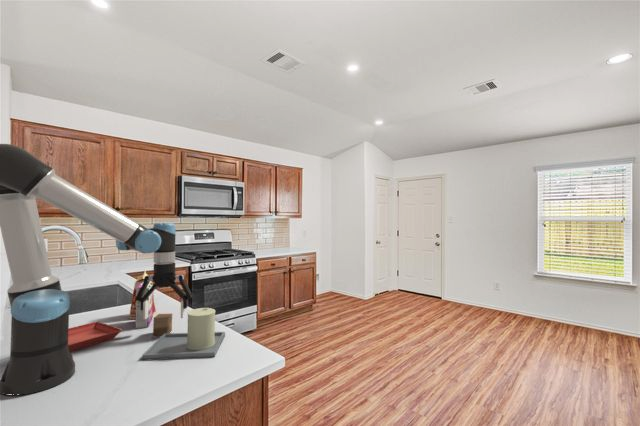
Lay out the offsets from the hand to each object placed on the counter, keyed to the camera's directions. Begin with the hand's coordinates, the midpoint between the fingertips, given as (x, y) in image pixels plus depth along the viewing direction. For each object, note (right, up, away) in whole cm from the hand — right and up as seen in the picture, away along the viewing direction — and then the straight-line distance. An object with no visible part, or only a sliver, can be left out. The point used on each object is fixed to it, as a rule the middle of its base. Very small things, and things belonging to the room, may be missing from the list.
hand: (164, 317), depth 117 cm
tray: (+14, -6, -12) cm, 19 cm away
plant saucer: (-26, -6, -8) cm, 28 cm away
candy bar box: (-14, -6, +10) cm, 18 cm away
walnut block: (0, -6, 0) cm, 6 cm away
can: (+19, -6, -11) cm, 22 cm away
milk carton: (-20, -6, +20) cm, 29 cm away
